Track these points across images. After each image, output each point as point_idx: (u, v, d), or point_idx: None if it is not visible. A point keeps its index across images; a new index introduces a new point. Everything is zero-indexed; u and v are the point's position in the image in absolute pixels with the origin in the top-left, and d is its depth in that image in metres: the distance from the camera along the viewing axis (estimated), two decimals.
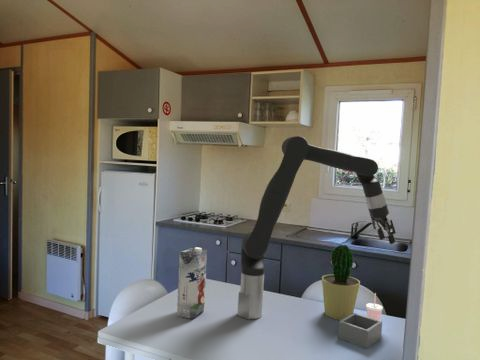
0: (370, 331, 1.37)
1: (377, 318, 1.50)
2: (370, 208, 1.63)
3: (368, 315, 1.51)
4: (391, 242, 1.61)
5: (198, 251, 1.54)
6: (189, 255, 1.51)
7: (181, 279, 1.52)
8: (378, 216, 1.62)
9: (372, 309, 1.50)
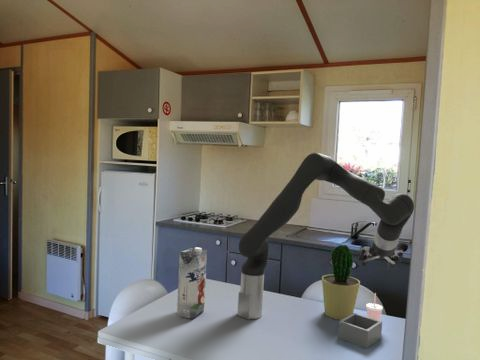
0: (370, 331, 1.37)
1: (377, 318, 1.50)
2: None
3: (368, 315, 1.51)
4: None
5: (198, 251, 1.54)
6: (189, 255, 1.51)
7: (181, 279, 1.52)
8: None
9: (372, 309, 1.50)
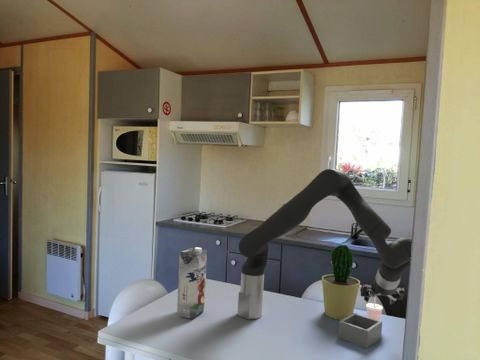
0: (370, 331, 1.37)
1: (377, 318, 1.50)
2: None
3: (368, 315, 1.51)
4: None
5: (198, 251, 1.54)
6: (189, 255, 1.51)
7: (181, 279, 1.52)
8: None
9: (372, 309, 1.50)
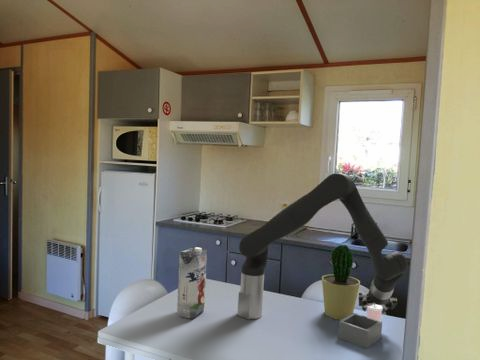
0: (370, 331, 1.37)
1: (378, 318, 1.50)
2: None
3: (368, 315, 1.51)
4: None
5: (198, 251, 1.54)
6: (189, 255, 1.51)
7: (181, 279, 1.52)
8: (370, 288, 1.46)
9: (372, 309, 1.50)
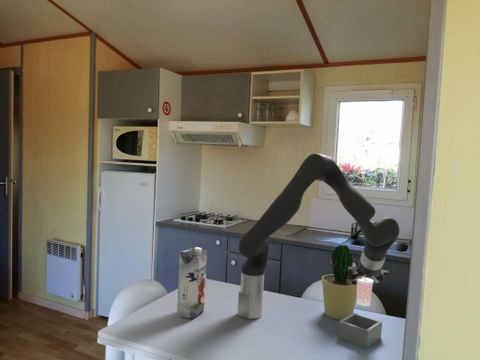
0: (370, 331, 1.37)
1: (368, 291, 1.42)
2: None
3: (358, 289, 1.43)
4: None
5: (198, 251, 1.54)
6: (189, 255, 1.51)
7: (181, 279, 1.52)
8: None
9: (362, 282, 1.42)
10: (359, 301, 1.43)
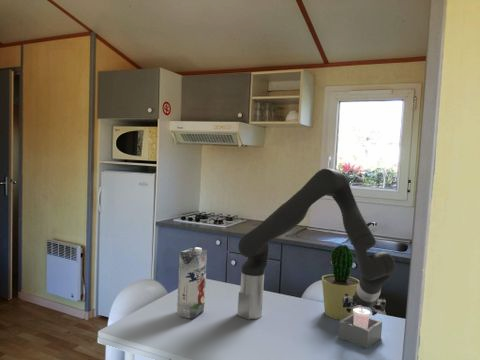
0: (370, 331, 1.37)
1: (365, 323, 1.41)
2: None
3: (355, 321, 1.42)
4: (347, 307, 1.45)
5: (198, 251, 1.54)
6: (189, 255, 1.51)
7: (181, 279, 1.52)
8: None
9: (359, 314, 1.41)
10: None
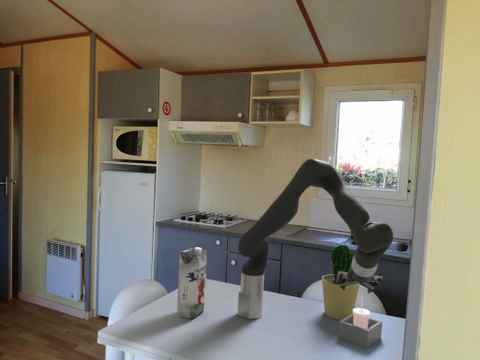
0: (370, 331, 1.37)
1: (365, 324, 1.41)
2: None
3: (355, 321, 1.42)
4: None
5: (198, 251, 1.54)
6: (189, 255, 1.51)
7: (181, 279, 1.52)
8: None
9: (358, 314, 1.41)
10: None
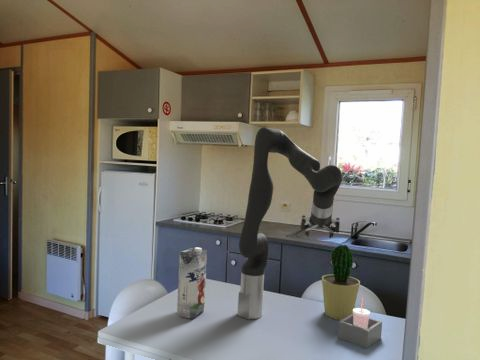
0: (370, 331, 1.37)
1: (365, 324, 1.41)
2: None
3: (355, 321, 1.42)
4: None
5: (198, 251, 1.54)
6: (189, 255, 1.51)
7: (181, 279, 1.52)
8: None
9: (358, 314, 1.41)
10: None
